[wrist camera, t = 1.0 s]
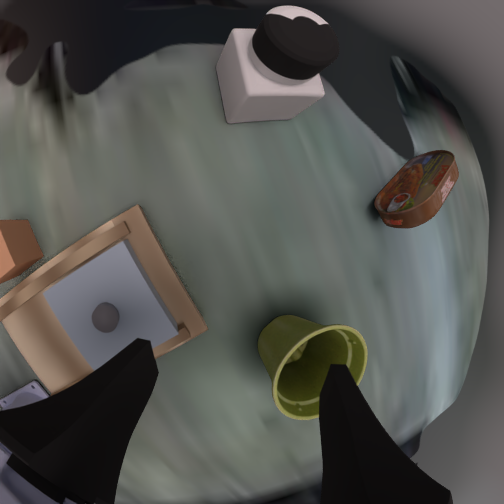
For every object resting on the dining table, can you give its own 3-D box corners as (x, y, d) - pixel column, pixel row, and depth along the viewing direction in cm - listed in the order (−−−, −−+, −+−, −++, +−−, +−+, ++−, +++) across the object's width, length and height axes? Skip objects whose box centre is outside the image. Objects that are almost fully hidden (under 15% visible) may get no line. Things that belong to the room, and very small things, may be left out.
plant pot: (245, 299, 27) (280, 330, 19) (325, 297, 30) (376, 320, 22) (238, 379, 28) (267, 428, 20) (313, 370, 31) (354, 407, 23)
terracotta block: (18, 275, 19) (-12, 288, 14) (3, 240, 19) (-29, 245, 13) (43, 256, 20) (15, 265, 15) (27, 219, 19) (-3, 220, 14)
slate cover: (104, 363, 20) (97, 383, 17) (53, 286, 18) (37, 296, 15) (176, 322, 22) (179, 339, 19) (127, 238, 20) (120, 241, 17)
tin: (415, 152, 33) (460, 144, 25) (424, 170, 34) (468, 165, 26) (360, 210, 30) (415, 209, 23) (372, 231, 31) (425, 235, 23)
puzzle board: (68, 390, 22) (59, 412, 18) (6, 297, 19) (-13, 308, 15) (203, 318, 26) (210, 334, 22) (140, 206, 23) (136, 203, 19)
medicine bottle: (291, 120, 27) (362, 73, 15) (226, 125, 25) (272, 63, 13) (277, 65, 25) (333, 5, 14) (214, 66, 23) (250, -10, 12)
